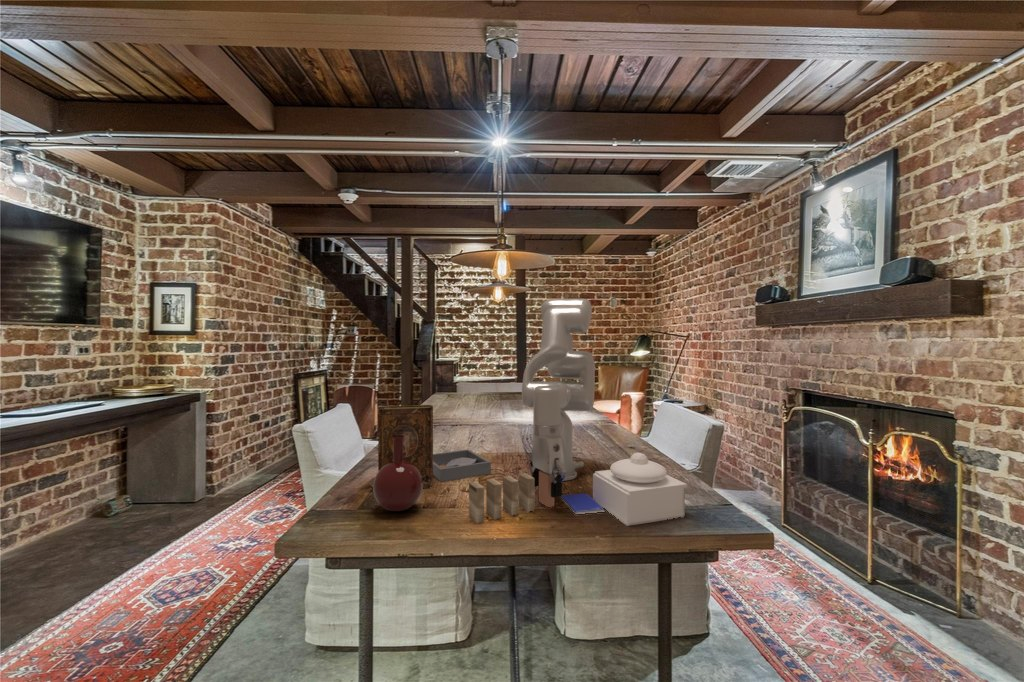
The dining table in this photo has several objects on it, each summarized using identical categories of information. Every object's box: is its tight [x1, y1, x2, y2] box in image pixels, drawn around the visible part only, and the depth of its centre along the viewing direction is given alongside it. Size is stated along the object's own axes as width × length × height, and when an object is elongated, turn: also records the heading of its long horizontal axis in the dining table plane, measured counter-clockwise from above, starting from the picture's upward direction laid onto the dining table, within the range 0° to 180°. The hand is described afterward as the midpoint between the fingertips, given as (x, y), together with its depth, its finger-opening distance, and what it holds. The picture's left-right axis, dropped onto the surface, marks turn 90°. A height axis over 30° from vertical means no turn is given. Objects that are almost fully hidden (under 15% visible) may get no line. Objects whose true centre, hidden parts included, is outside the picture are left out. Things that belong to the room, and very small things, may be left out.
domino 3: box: [502, 475, 519, 517], centre depth 124 cm, size 2×5×9 cm, turn 28°
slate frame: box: [433, 449, 492, 483], centre depth 161 cm, size 18×19×4 cm
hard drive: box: [560, 493, 606, 515], centre depth 129 cm, size 2×8×12 cm
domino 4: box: [518, 472, 535, 513], centre depth 126 cm, size 2×5×9 cm, turn 29°
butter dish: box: [592, 452, 688, 527], centre depth 126 cm, size 18×18×16 cm
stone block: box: [444, 458, 477, 468], centre depth 161 cm, size 12×5×10 cm
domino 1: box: [468, 481, 485, 525], centre depth 119 cm, size 2×5×9 cm, turn 29°
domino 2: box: [485, 478, 503, 521], centre depth 122 cm, size 2×5×9 cm, turn 29°
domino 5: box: [538, 470, 555, 508], centre depth 130 cm, size 2×5×9 cm, turn 28°
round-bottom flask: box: [372, 435, 424, 512], centre depth 126 cm, size 13×13×20 cm
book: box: [377, 404, 434, 489], centre depth 144 cm, size 16×6×25 cm, turn 102°
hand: (546, 490), depth 130 cm, fingers open, 9 cm apart
